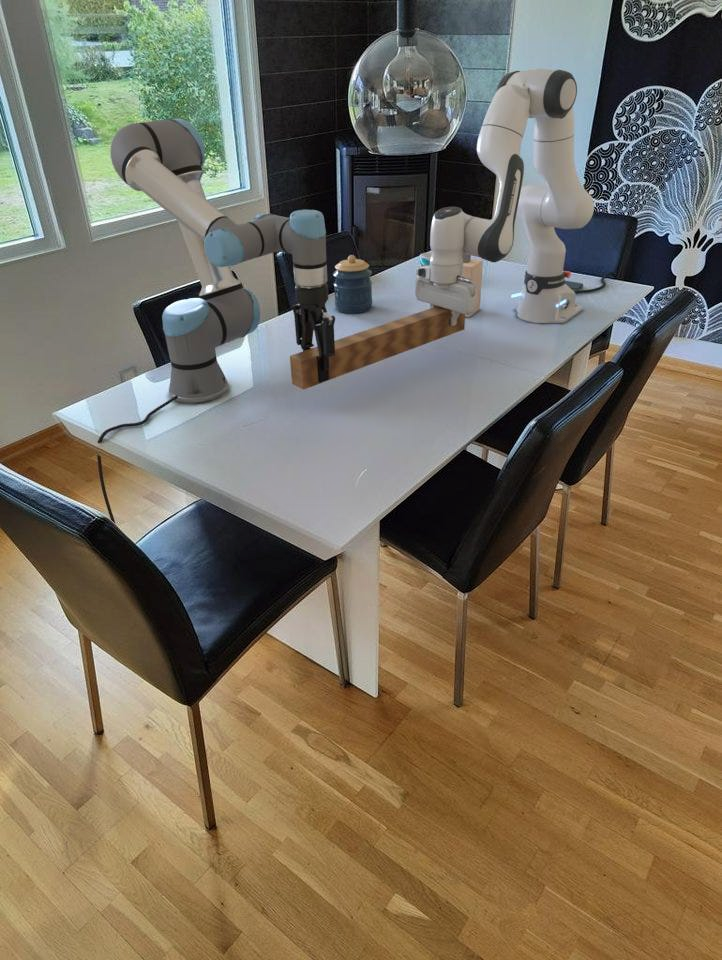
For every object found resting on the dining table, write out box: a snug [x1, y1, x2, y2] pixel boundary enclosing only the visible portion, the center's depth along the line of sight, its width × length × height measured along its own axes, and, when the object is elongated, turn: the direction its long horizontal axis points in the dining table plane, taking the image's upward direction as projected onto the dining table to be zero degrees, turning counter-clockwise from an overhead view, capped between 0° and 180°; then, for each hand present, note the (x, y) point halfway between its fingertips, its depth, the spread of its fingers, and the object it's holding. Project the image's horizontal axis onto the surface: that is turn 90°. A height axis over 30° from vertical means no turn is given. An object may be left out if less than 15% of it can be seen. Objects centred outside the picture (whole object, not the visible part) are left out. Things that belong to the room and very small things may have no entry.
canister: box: [332, 254, 373, 314], centre depth 225 cm, size 13×13×18 cm
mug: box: [418, 251, 431, 268], centre depth 257 cm, size 8×12×8 cm
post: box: [289, 306, 466, 391], centre depth 175 cm, size 57×5×7 cm, turn 130°
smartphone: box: [565, 280, 584, 291], centre depth 241 cm, size 8×2×15 cm
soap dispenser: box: [462, 254, 484, 318], centre depth 219 cm, size 13×9×22 cm
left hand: (317, 377), depth 165 cm, fingers closed on post, 5 cm apart
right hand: (444, 322), depth 188 cm, fingers closed on post, 4 cm apart
